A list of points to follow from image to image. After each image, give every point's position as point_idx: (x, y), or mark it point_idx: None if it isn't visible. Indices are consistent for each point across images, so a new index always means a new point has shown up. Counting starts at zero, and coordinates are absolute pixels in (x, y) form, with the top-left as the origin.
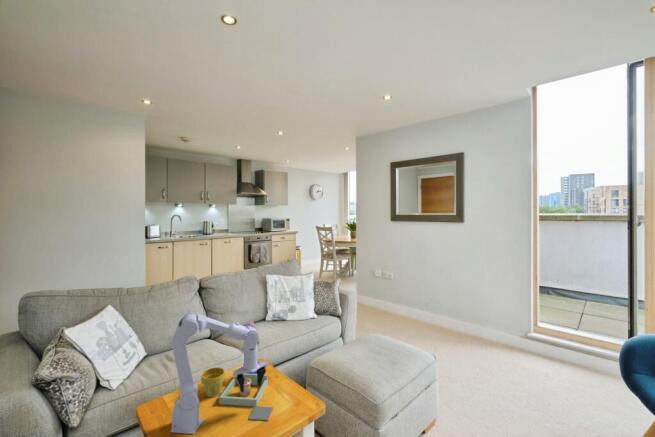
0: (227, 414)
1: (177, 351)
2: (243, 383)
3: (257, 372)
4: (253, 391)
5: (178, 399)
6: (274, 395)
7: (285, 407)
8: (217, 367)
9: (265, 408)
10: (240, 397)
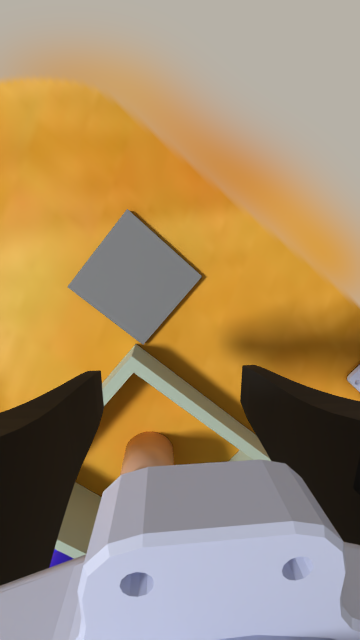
0: (260, 362)
1: None
2: (298, 394)
3: (55, 522)
4: (109, 450)
5: None
6: (27, 375)
7: (5, 254)
8: None
9: (104, 298)
10: (195, 415)
